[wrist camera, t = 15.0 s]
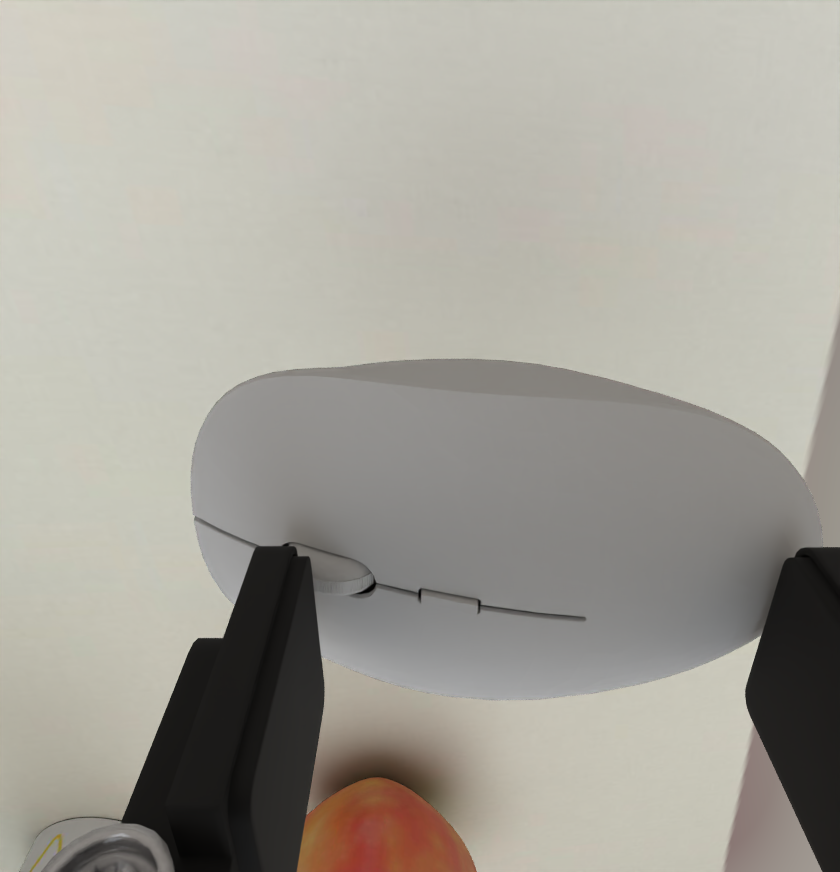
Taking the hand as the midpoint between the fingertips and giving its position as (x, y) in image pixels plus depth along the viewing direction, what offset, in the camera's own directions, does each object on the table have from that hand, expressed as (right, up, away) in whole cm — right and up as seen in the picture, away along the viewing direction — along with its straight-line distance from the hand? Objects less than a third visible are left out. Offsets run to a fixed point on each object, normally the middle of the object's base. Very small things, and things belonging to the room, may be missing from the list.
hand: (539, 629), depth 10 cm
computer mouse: (-1, +2, +2) cm, 3 cm away
